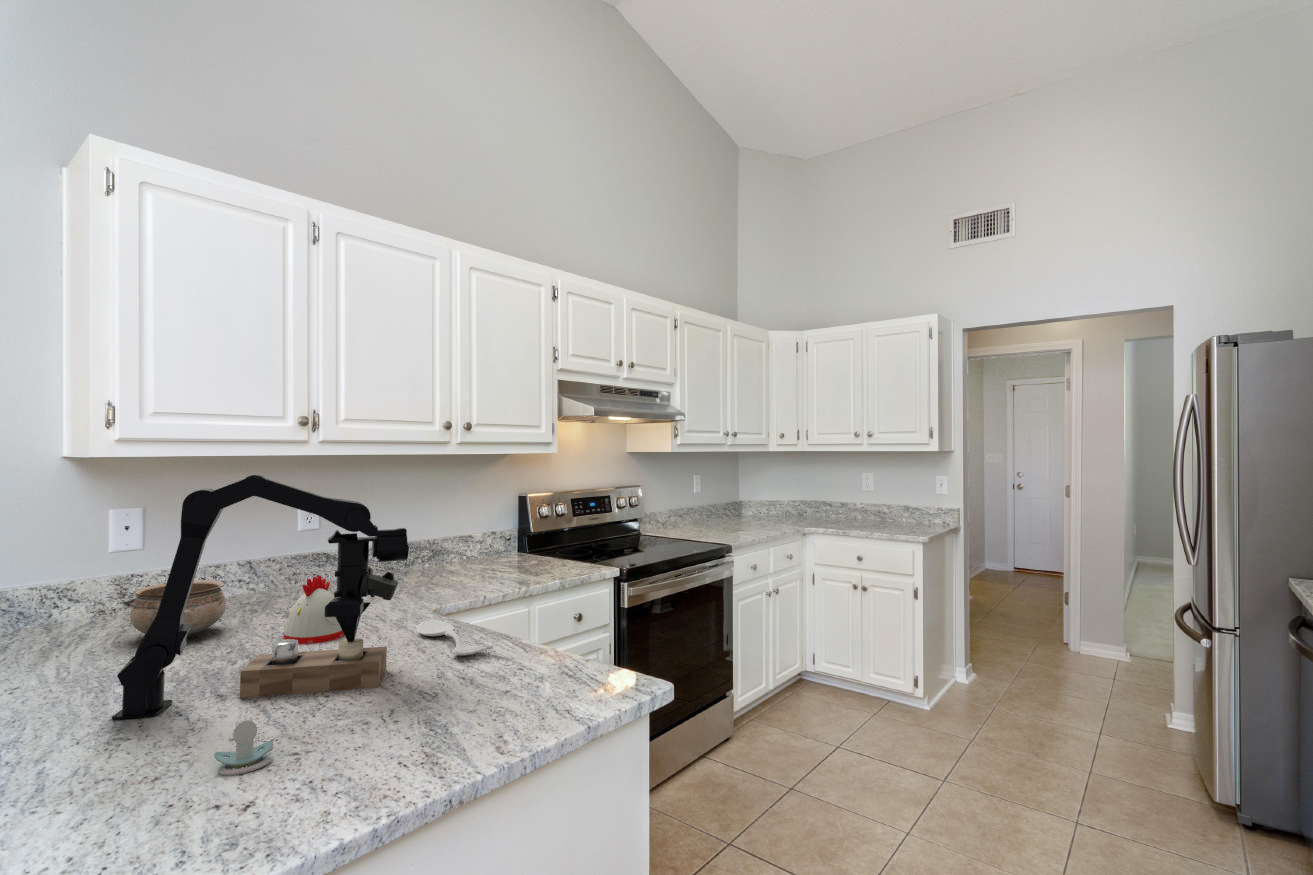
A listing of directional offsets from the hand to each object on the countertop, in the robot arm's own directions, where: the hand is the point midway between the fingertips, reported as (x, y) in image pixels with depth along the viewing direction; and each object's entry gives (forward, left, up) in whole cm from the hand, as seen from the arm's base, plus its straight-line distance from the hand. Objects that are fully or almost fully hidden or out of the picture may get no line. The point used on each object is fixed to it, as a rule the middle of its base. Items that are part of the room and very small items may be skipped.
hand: (351, 641), depth 127 cm
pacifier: (-34, +8, -8) cm, 36 cm away
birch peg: (0, 0, -5) cm, 5 cm away
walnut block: (0, +6, -8) cm, 10 cm away
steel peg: (0, +12, -4) cm, 13 cm away
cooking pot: (+42, +47, -8) cm, 64 cm away
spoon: (+22, -18, -8) cm, 29 cm away
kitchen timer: (+36, +15, -8) cm, 40 cm away
